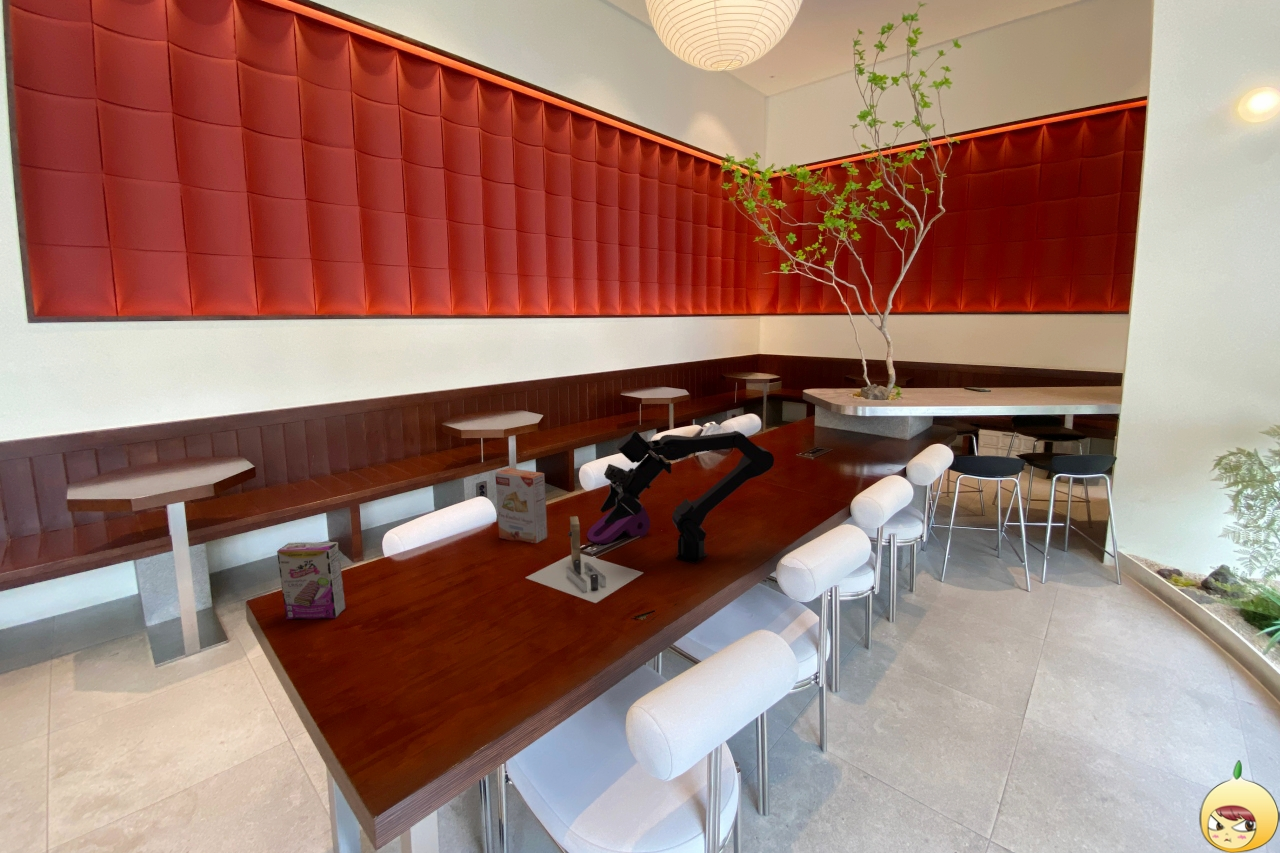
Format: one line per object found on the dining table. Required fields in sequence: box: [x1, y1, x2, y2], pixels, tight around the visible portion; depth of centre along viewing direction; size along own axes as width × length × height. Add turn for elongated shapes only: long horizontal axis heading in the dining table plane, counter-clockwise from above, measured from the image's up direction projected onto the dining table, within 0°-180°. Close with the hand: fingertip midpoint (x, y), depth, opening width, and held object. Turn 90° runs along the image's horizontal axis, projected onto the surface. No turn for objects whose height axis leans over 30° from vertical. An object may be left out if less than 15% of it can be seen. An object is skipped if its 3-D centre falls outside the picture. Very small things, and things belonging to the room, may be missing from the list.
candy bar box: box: [276, 541, 346, 620], centre depth 129 cm, size 11×5×16 cm, turn 92°
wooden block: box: [567, 515, 581, 569], centre depth 151 cm, size 3×6×12 cm, turn 10°
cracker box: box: [495, 467, 548, 544], centre depth 170 cm, size 14×6×21 cm, turn 62°
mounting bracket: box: [586, 505, 651, 545], centre depth 173 cm, size 9×8×18 cm
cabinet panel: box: [525, 553, 644, 604], centre depth 146 cm, size 23×19×1 cm
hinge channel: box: [566, 560, 606, 593], centre depth 142 cm, size 6×12×4 cm, turn 30°
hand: (603, 517), depth 152 cm, fingers open, 9 cm apart
